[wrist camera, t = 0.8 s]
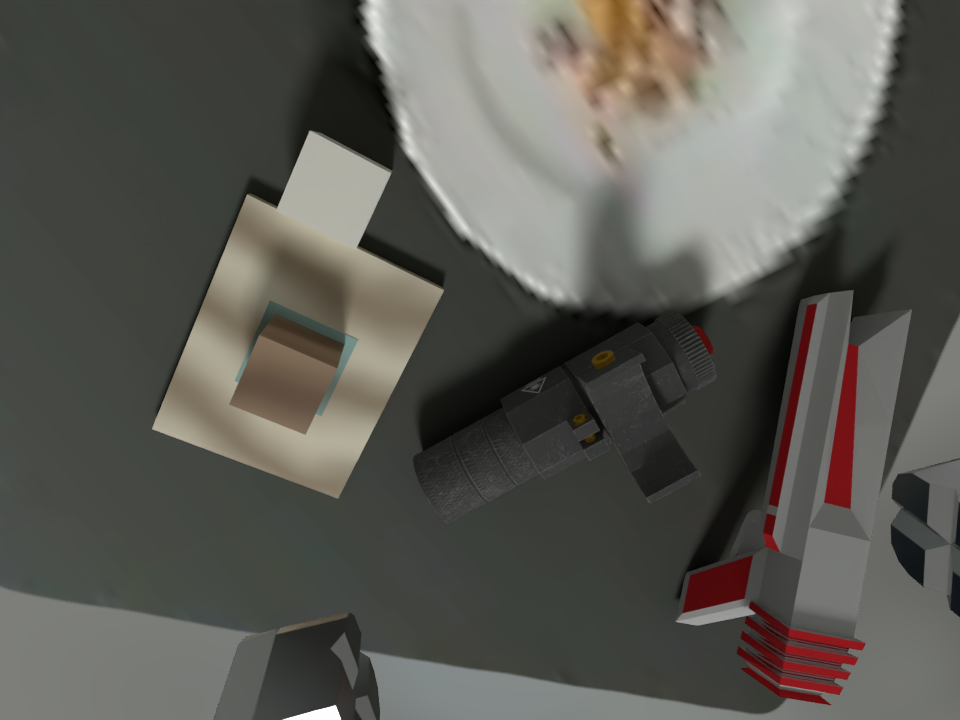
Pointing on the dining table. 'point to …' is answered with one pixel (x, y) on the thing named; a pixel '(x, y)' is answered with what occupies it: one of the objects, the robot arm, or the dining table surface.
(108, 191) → the dining table surface
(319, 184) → the cream block
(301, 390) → the walnut block
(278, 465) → the beige rectangular board
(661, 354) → the laser sight
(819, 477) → the toy gun
